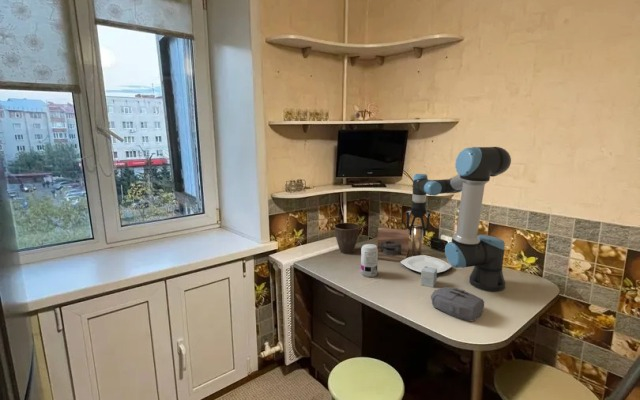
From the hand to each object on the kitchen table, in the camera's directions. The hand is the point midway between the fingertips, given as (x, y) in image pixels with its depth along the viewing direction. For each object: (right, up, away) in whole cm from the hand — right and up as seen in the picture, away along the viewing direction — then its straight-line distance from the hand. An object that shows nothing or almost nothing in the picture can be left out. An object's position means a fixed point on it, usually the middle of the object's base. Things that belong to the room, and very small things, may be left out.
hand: (417, 240), depth 197 cm
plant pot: (-40, -8, +9) cm, 42 cm away
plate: (0, -12, -15) cm, 19 cm away
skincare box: (-4, -17, -34) cm, 38 cm away
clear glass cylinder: (0, -9, +2) cm, 9 cm away
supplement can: (-31, -14, -23) cm, 41 cm away
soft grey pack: (-1, -22, -57) cm, 61 cm away
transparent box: (-15, -9, +3) cm, 17 cm away
